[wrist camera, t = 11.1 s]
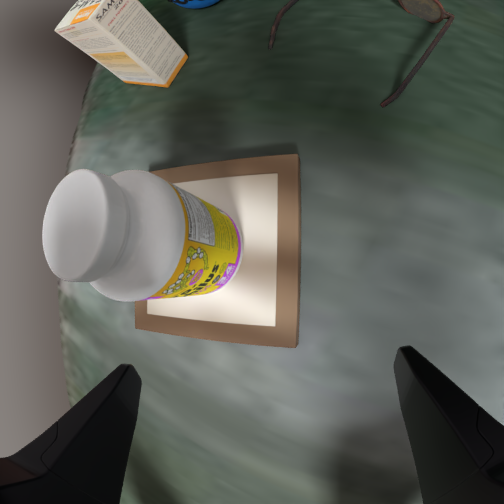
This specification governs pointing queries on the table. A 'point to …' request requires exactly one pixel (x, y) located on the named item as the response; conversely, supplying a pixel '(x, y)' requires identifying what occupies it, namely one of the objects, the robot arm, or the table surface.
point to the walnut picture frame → (254, 255)
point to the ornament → (194, 3)
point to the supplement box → (124, 40)
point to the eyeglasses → (417, 3)
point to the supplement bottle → (138, 237)
